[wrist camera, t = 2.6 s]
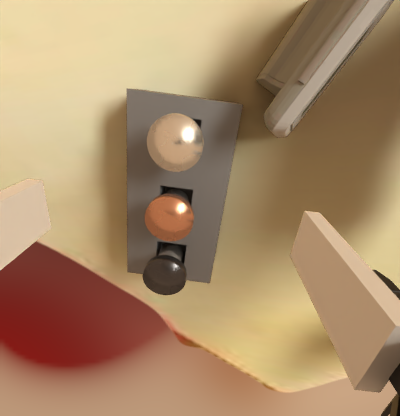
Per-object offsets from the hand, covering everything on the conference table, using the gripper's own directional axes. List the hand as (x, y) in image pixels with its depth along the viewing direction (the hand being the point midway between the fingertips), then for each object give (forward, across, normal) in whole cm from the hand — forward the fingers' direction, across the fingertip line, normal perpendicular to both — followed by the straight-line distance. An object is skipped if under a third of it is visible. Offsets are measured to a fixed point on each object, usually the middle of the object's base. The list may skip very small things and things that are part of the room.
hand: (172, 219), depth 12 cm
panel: (+21, -2, -6) cm, 22 cm away
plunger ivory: (+16, -2, +2) cm, 16 cm away
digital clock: (+21, +12, +10) cm, 26 cm away
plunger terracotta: (+16, -2, -6) cm, 18 cm away
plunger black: (+16, -2, -14) cm, 22 cm away
